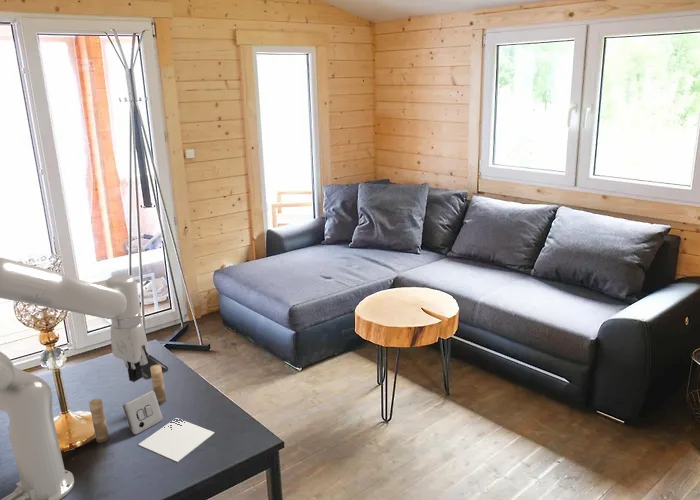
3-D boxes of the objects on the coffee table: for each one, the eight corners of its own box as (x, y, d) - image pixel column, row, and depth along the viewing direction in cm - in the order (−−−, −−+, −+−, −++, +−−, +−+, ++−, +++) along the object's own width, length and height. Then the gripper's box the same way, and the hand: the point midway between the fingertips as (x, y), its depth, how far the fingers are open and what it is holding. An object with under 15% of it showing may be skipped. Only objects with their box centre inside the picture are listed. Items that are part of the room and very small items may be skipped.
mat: (177, 462, 149) (177, 461, 149) (138, 444, 156) (138, 444, 156) (214, 432, 160) (214, 432, 160) (176, 418, 167) (176, 417, 167)
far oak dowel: (160, 405, 174) (155, 370, 170) (153, 402, 175) (147, 368, 172) (168, 400, 176) (163, 366, 173) (161, 397, 178) (156, 363, 174)
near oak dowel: (101, 444, 157) (94, 406, 153) (94, 440, 158) (86, 403, 154) (111, 437, 159) (104, 400, 156) (103, 434, 161) (96, 397, 157)
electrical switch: (134, 436, 160) (128, 406, 157) (125, 431, 163) (118, 402, 160) (163, 420, 166) (158, 392, 164) (153, 415, 170) (148, 387, 167)
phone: (148, 354, 204) (169, 368, 194) (149, 356, 204) (169, 371, 194) (127, 362, 199) (147, 377, 188) (128, 365, 199) (147, 380, 189)
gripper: (96, 319, 155) (107, 379, 160) (134, 331, 147) (143, 392, 153) (119, 309, 161) (129, 367, 166) (156, 319, 153) (165, 379, 159)
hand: (136, 379), depth 160 cm, fingers closed
